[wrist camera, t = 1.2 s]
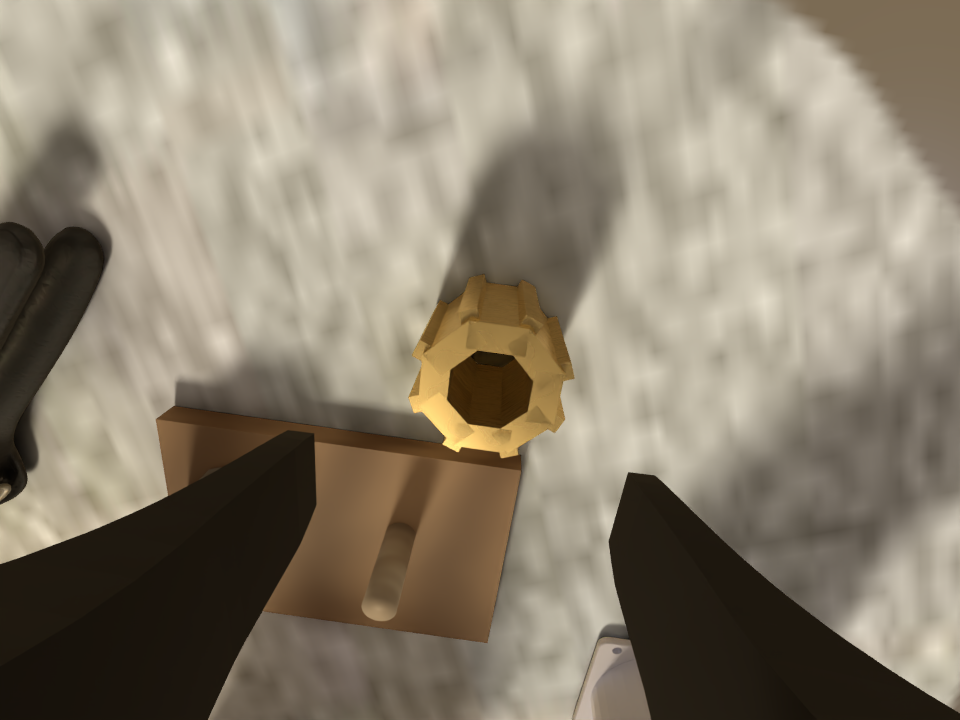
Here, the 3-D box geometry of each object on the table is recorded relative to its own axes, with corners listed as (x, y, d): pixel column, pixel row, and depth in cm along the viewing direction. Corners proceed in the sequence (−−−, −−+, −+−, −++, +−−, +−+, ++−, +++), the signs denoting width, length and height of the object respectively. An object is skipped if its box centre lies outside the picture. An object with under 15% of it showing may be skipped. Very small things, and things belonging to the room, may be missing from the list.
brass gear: (568, 284, 18) (588, 325, 14) (544, 400, 20) (554, 469, 16) (438, 266, 18) (414, 301, 14) (427, 383, 20) (403, 448, 16)
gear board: (520, 454, 22) (524, 538, 17) (488, 622, 26) (483, 727, 21) (174, 406, 22) (78, 475, 17) (199, 581, 26) (128, 676, 21)
